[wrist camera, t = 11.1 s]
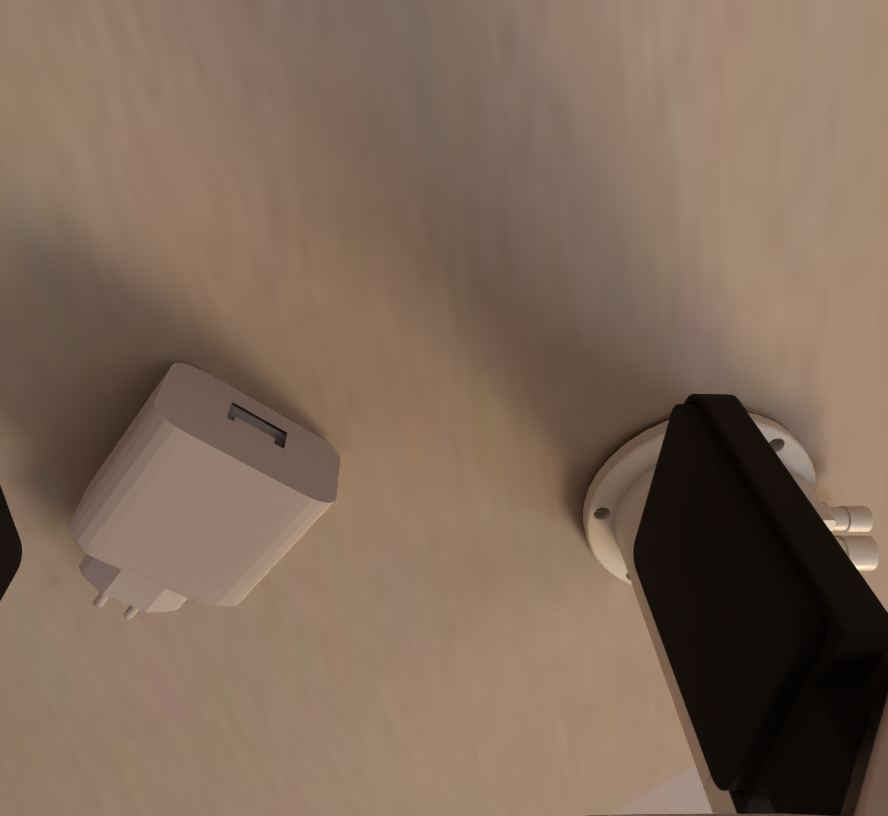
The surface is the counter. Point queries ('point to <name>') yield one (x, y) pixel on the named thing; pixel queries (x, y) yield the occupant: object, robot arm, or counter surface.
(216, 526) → the charger
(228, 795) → the counter surface
